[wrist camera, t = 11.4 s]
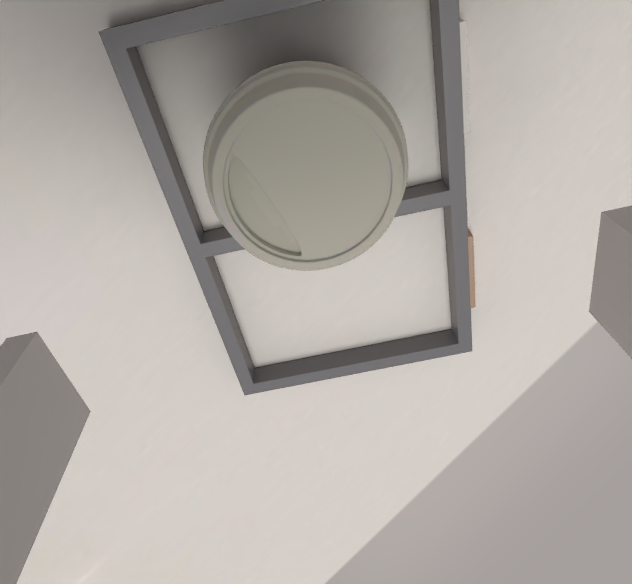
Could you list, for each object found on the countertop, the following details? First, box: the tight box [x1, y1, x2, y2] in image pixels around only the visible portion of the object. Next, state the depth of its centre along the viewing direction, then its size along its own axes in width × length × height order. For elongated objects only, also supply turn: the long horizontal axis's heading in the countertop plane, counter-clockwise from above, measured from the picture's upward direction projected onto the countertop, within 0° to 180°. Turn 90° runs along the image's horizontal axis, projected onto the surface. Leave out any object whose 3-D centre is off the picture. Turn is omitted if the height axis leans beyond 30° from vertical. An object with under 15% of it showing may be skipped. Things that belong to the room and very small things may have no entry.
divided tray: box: [99, 0, 475, 395], centre depth 32 cm, size 26×19×2 cm
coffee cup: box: [203, 61, 408, 271], centre depth 24 cm, size 9×8×12 cm
